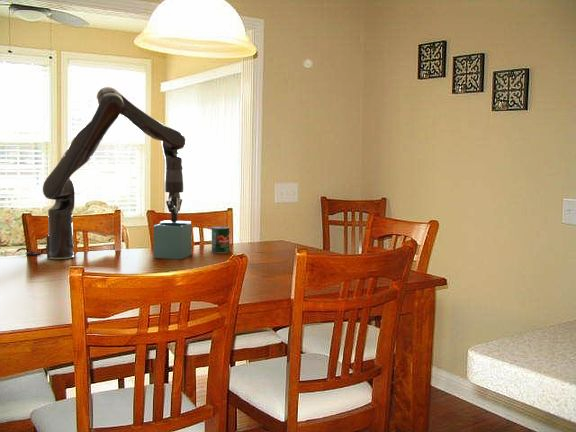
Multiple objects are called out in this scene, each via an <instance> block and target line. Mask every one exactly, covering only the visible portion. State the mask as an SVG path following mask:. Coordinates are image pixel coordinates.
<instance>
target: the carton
mask: <svg viewBox="0 0 576 432" xmlns="http://www.w3.org/2000/svg"><path fill="white" fill-rule="evenodd" d="M190 256H192V222H191V223H188V224H171V223H158V224H154V225H153V258H154V259H163V260H164V259H167V260H183V259H185V258H187V257H190Z"/></svg>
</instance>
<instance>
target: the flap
mask: <svg viewBox="0 0 576 432" xmlns="http://www.w3.org/2000/svg"><path fill="white" fill-rule="evenodd" d="M161 223H171V224H188V223H191V224H192V221H191V220H190V221H189V220H178V221H177V222H171V220H162V221H159V222H158V224H161Z"/></svg>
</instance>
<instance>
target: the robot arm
mask: <svg viewBox="0 0 576 432" xmlns="http://www.w3.org/2000/svg"><path fill="white" fill-rule="evenodd" d="M96 102H97V108H96V111H95V113H94V114H93V116H92V118H91V120H90V121H89V122H88V123H87V124H86V125H85V126H83V127H82V128H81V129H80V130H79V131H78V132H77V133H76V134H75V135H74V137H73V139H72V140H71V141H70V144H69V145H68V148H67V149H66V151H64V153H63V155H62V157H61V158H60V160H59V161H58V163H57V164H56V166H55V167H54V168H53V169H52V171H51V172H50V173H49V175H48V176H47V177H46V178H45V180H44V182H43V185H42V194H43V196H44V197H45V198H46V199H48V200H55V201H54V204H53V205H52V206H51V207H50V208H49V209H47V221H48V223H47V224H48V225H47V227H48V234H47V235H46V244H45V247H44V248H42V249H41V250H40V252H38V253H35V250H33V249H31V250H32V252H31V251H28V250H27V247H20V248H18V249H17V250H16V251H15V252H16V253H18V252H20V251H23V250H24V251H28V252H26V253H25V255H27V256H42V255H43V253H44V251H45V253H46V259H48V260H53V261H54V260H55V261H59V260H61V261H63V260H70V259H73V258H74V257H75V255H74V246H75V244H74V222H73V221H74V220H73V214H74V213H73V212H74V209H75V202H76V201H75V198H76V197H75V195H76V188H75V183H74V181H73V179H72V178H71V176H72V175H73V174H74V173H76V171H78V170H79V169H81V168H82V167H83V166H84V165H85V164H87V163H88V162H89V161H90V160H91V159H92V157H93V155H94V154H95V152H96V150H97V149H98V147H99V145H100V143H101V142H102V141H103V139H104V137H105V136H106V134H107V132H108V131H109V129H110V128H111V127H112V125H113V124H114V122H115V121H116V120H117V119H118V118H119V117H120V116H122V117H124V118H125V119H126V120H128V121H129V122H130V123H131V124H132V125H133V126H135V128H137V129H138V130H139V131H141V132H142V133H143V134H145V135H147V136H148V137H150V138H152V139H153V140H156V141H160V142H161V147H162V150H163V151H162V152H163V156H164V159H165V173H164V192H165V193H168V197H167V199H168V200H166V201H165V204H166V206H167V209H168V212H169V213H170V215H171V216H170V217H171V220H170V221H171V222H177V221H179V219H178V217H179V215H178V214H179V212H180V211H181V208H182V203H183V199H182V198H181V194H180V193H183V192H184V166H183V163H184V161H183V158H182V156H181V155H179V151H178V150H182V149H183V148H184V147H185V146H186V144H187V143H186V142H187V141H186V137H185V136H184V134H183V133H181V132H179V131H178V130H176V129H174V128H172V127H170V126H167V125H164V124H163V123H162V122H160V121H159V120H157V119H155V118H154V117H152V116H150V115H149V114H148V113H146V112H145V111H143V110H142V109H141V108H139V107H137V106H136V105H135V104H133V103H132V102H131V101H130V100H128V99H127V98H126V97H125V96H124V95H123V94H121V93H120V92H119V91H118V90H117V89H116V88H114V87H111V86H104V87H101V88H100V89H99V90H98V91H97V94H96Z"/></svg>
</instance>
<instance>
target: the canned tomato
mask: <svg viewBox="0 0 576 432" xmlns="http://www.w3.org/2000/svg"><path fill="white" fill-rule="evenodd" d="M230 228H231V227H230V226H227V225H217V226H211V253H212V254H228V253H230Z"/></svg>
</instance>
